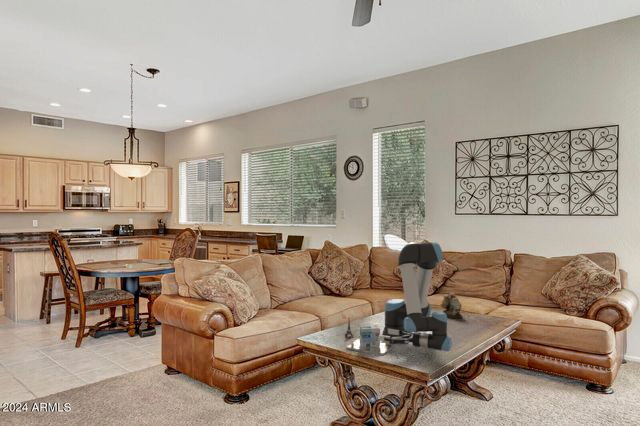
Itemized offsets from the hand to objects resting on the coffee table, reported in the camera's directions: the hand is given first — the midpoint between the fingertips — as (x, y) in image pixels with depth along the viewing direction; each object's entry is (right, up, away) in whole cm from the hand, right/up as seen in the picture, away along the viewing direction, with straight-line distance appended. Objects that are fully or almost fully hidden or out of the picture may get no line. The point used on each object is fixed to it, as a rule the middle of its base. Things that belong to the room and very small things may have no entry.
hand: (383, 334), depth 241 cm
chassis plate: (-7, -9, +4) cm, 12 cm away
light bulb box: (-7, -8, +4) cm, 12 cm away
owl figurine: (+60, -8, +74) cm, 95 cm away
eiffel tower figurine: (-17, -9, +26) cm, 32 cm away
